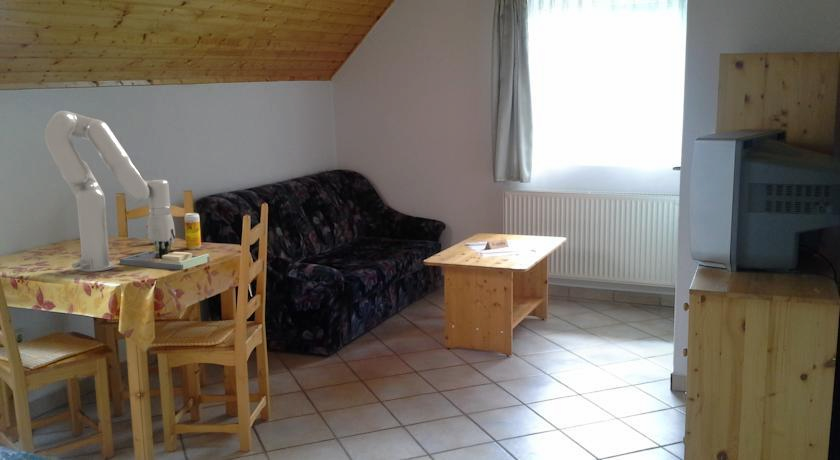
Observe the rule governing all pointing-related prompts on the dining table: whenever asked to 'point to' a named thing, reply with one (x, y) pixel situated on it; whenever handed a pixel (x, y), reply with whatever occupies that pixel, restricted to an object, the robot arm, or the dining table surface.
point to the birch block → (176, 257)
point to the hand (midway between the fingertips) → (163, 257)
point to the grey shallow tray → (141, 261)
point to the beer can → (192, 231)
